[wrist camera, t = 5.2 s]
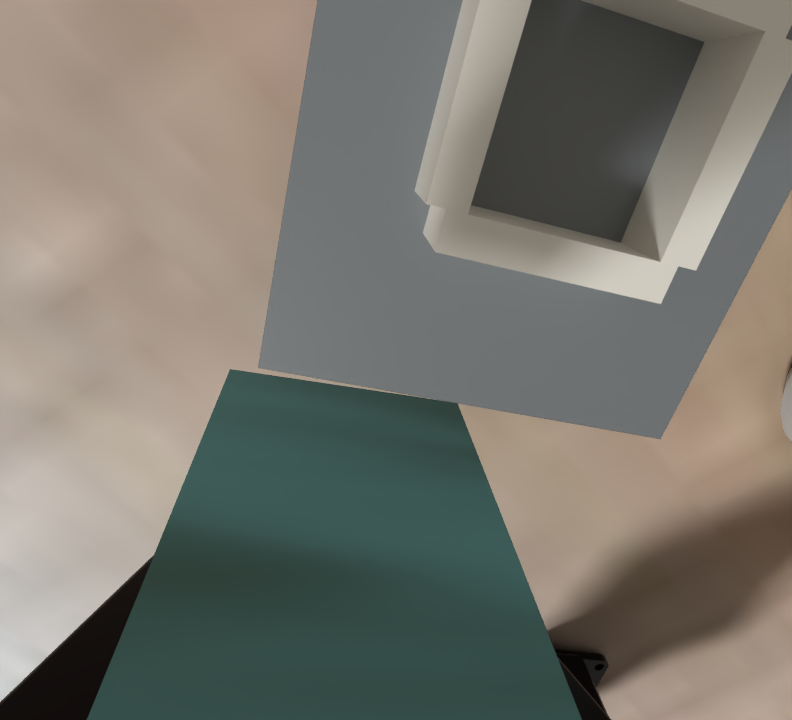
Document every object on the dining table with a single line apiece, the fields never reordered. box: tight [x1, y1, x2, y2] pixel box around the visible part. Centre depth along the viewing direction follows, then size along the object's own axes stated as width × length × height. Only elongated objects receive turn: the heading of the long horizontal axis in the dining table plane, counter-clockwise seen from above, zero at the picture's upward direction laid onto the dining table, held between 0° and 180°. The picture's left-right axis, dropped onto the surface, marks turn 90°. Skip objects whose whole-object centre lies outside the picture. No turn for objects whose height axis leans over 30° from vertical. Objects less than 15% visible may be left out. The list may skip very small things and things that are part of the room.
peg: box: [87, 369, 582, 720], centre depth 7 cm, size 4×4×8 cm
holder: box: [258, 0, 792, 439], centre depth 16 cm, size 20×16×4 cm
